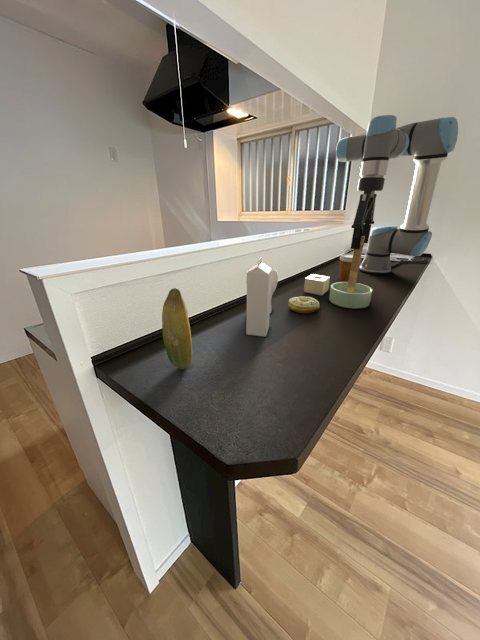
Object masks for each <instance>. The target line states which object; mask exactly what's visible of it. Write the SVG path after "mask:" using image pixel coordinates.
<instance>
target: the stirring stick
mask: <svg viewBox="0 0 480 640" xmlns="http://www.w3.org/2000/svg"><path fill="white" fill-rule="evenodd" d="M364 240H365V236H362V239H361V244H360V249H353V253H352V254H353V258H352V264H351V269H350V275H349V280H348V286H347V291H346V292H347V293H354V291H355V286H356V283H357V280H358V276H359V271H360V270H359V269H360V265H361V261H362V254H363V249H364V244H365V243H364ZM360 260H361V261H360Z"/></svg>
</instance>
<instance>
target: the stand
mask: <svg viewBox="0 0 480 640" xmlns="http://www.w3.org/2000/svg"><path fill="white" fill-rule="evenodd" d="M330 280H331V276H326V275H320V274H316V273H315V274H314V273H311V274H310V275H308V276H307V277H305V279H304V287H303V293H308V294H313V295H318V296H323V295H325V293H326V292H328V291H329V286H330Z"/></svg>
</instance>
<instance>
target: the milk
mask: <svg viewBox="0 0 480 640" xmlns="http://www.w3.org/2000/svg"><path fill="white" fill-rule="evenodd" d="M270 267H271V266H268V265H267V264H266V263H264V262H263V257H262V256H260V258H259V259H258V260H257V264H255V265H253V266H251V267H249V268H250V270H249V271H248V270H247V272H246V277H247V283H246V321H245V323H246V326H245V327H246V329H245V330H246V332H245V333H246V334H245V335H247V336H257V337H263V338H264V337H265V338H267V335H268V332H269V329H270V317H271V313H270V296H271V276H272V268H273V267H272V268H270Z"/></svg>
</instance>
